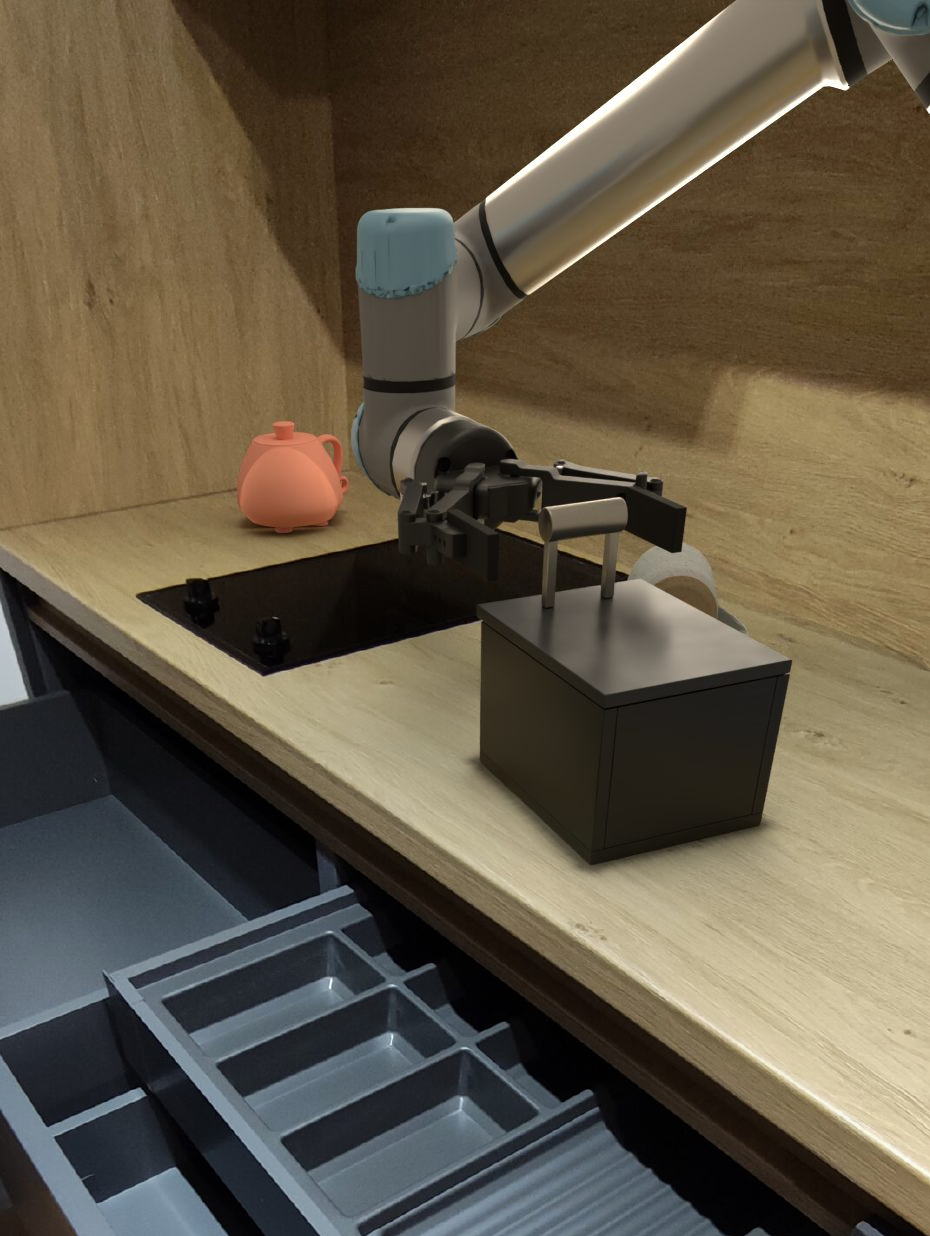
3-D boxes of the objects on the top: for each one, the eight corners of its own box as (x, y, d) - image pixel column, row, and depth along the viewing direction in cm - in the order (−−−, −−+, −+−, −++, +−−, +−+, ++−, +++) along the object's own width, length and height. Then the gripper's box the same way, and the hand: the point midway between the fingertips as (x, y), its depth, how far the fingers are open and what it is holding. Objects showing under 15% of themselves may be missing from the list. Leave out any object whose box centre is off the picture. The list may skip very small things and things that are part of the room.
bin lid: (475, 616, 75) (476, 505, 71) (639, 589, 79) (650, 482, 74) (604, 709, 63) (615, 582, 58) (790, 672, 66) (815, 550, 62)
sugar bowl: (223, 519, 132) (210, 420, 125) (325, 501, 138) (318, 405, 131) (270, 543, 124) (259, 438, 117) (376, 522, 130) (371, 421, 123)
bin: (479, 760, 81) (480, 620, 75) (630, 730, 85) (645, 593, 78) (590, 865, 70) (603, 710, 63) (760, 824, 73) (790, 673, 67)
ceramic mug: (627, 663, 95) (639, 567, 90) (620, 630, 101) (631, 539, 96) (752, 666, 94) (771, 570, 89) (737, 633, 100) (754, 541, 95)
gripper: (594, 508, 92) (742, 578, 77) (309, 547, 85) (411, 632, 70) (602, 402, 87) (761, 456, 72) (299, 434, 80) (407, 501, 65)
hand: (589, 543), depth 71 cm, fingers open, 13 cm apart
